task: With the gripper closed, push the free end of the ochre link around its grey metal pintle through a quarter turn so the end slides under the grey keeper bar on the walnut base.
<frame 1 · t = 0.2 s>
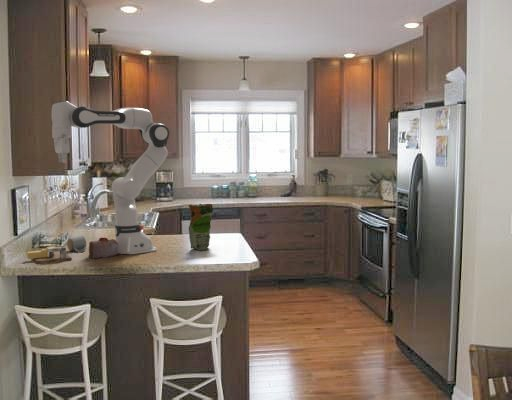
hand: (62, 162, 274), 47 cm above the worktop, tool pointing down, fingers open, 8 cm apart
base: (51, 258, 275), on the worktop
pouch: (200, 249, 298), on the worktop
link: (42, 252, 273), point 4 cm above the worktop, hinge at 0.0°
ceramic mug: (78, 251, 297), on the worktop
small brown suitcase: (103, 257, 280), on the worktop
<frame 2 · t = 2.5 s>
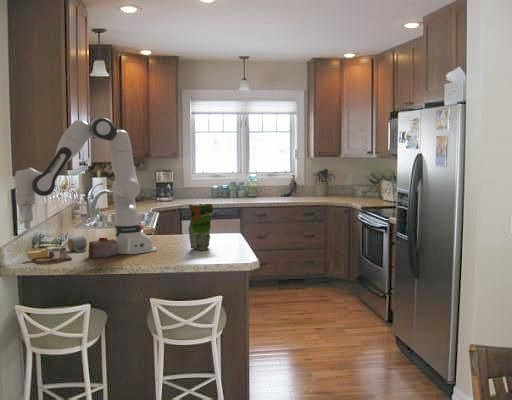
hand: (27, 228, 275), 15 cm above the worktop, tool pointing down, fingers closed
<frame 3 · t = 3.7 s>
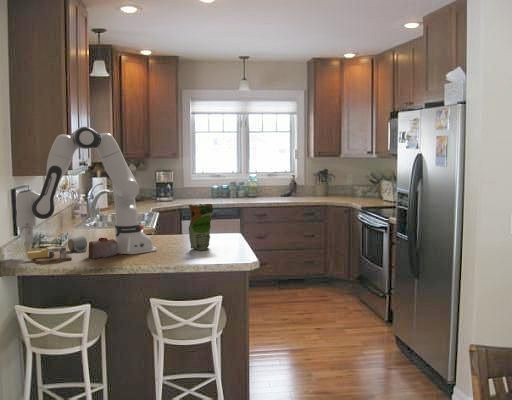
hand: (27, 250, 276), 4 cm above the worktop, tool pointing down, fingers closed
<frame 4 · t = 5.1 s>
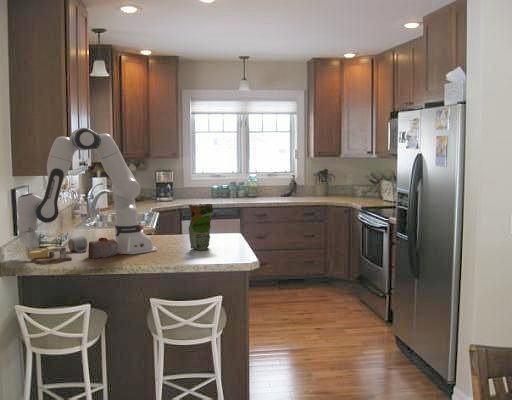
hand: (29, 254, 272), 3 cm above the worktop, tool pointing down, fingers closed
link: (42, 252, 272), point 4 cm above the worktop, hinge at 0.8°, touching gripper
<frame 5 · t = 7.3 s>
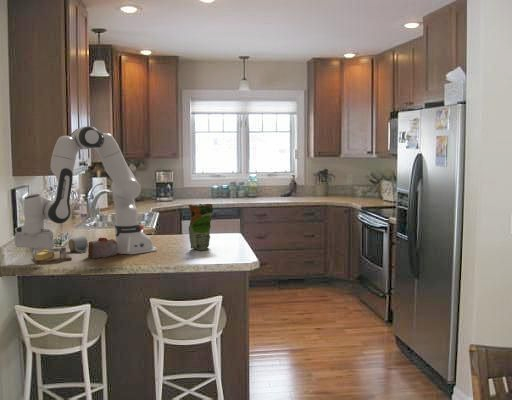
hand: (34, 257, 266), 3 cm above the worktop, tool pointing down, fingers closed
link: (46, 253, 270), point 4 cm above the worktop, hinge at 49.6°, touching gripper
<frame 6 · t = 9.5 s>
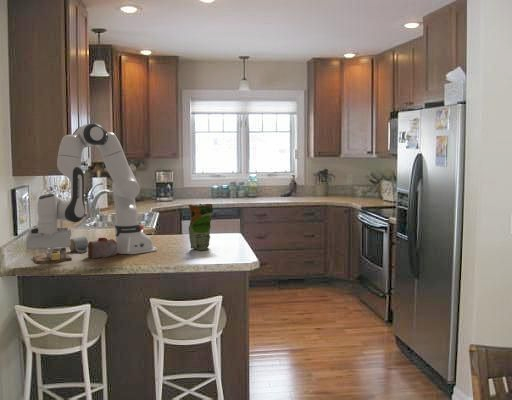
hand: (48, 257, 265), 3 cm above the worktop, tool pointing down, fingers closed
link: (53, 253, 271), point 4 cm above the worktop, hinge at 91.4°, touching gripper
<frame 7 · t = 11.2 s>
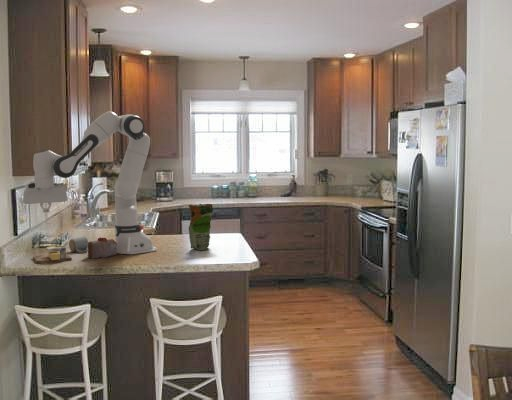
hand: (46, 212, 270), 24 cm above the worktop, tool pointing down, fingers closed
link: (53, 253, 271), point 4 cm above the worktop, hinge at 91.5°
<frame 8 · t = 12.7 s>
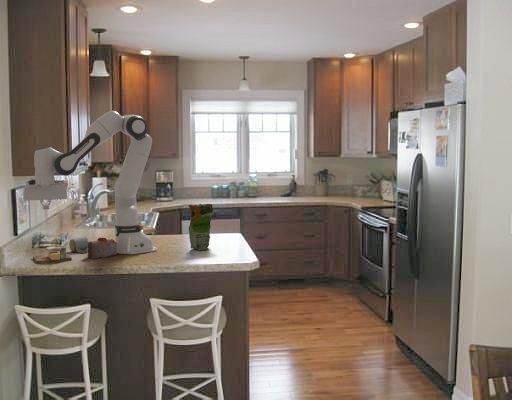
hand: (45, 209, 270), 25 cm above the worktop, tool pointing down, fingers closed
at the end: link at +92° (first picture: +0°); the gripper is holding nothing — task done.
